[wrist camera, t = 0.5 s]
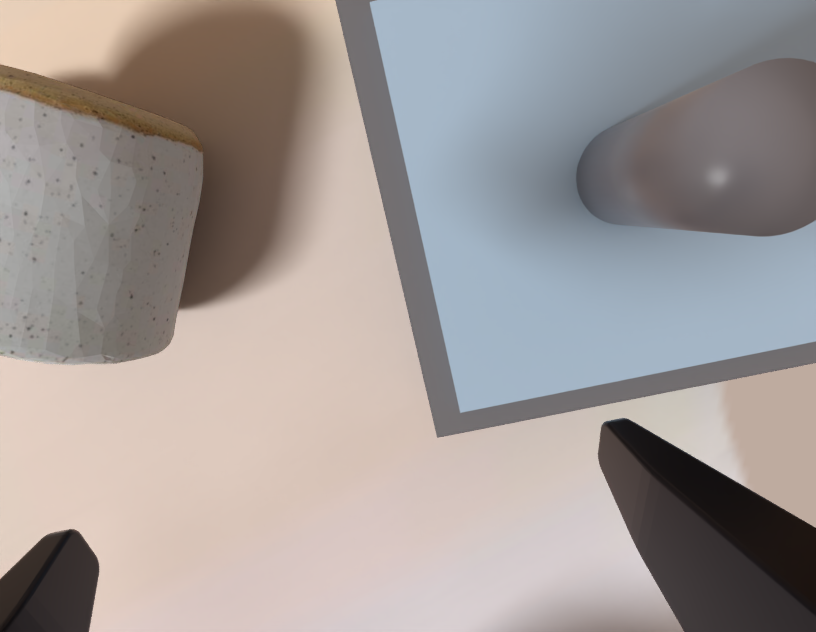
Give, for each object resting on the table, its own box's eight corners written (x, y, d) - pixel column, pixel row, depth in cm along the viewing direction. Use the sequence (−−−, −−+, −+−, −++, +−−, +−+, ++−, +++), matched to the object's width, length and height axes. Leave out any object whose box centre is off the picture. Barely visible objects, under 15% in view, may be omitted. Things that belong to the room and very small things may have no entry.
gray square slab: (794, 324, 21) (877, 350, 17) (435, 397, 22) (437, 437, 18) (760, -80, 18) (850, -159, 14) (350, 28, 20) (331, -18, 16)
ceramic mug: (243, 139, 20) (132, 98, 13) (205, 334, 22) (86, 396, 15) (-16, 67, 20) (-279, -17, 13) (-35, 266, 22) (-277, 295, 15)
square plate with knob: (844, 328, 17) (1156, 417, 10) (459, 406, 18) (481, 540, 11) (816, -108, 15) (1205, -424, 7) (371, 10, 16) (323, -165, 8)
